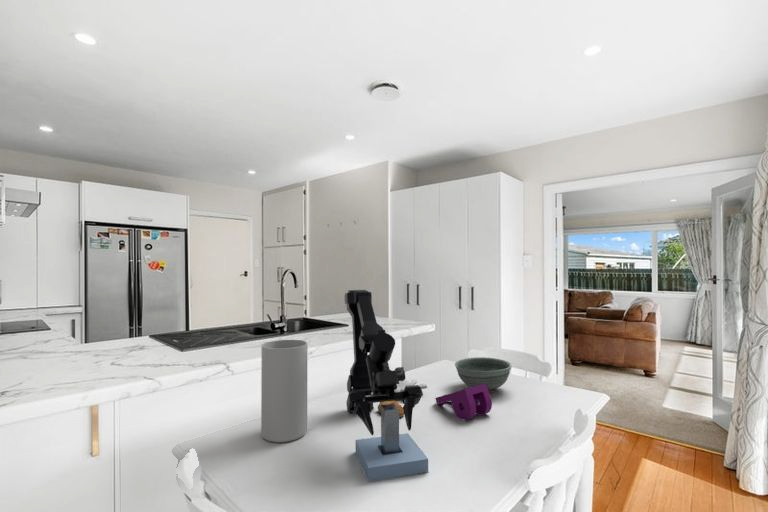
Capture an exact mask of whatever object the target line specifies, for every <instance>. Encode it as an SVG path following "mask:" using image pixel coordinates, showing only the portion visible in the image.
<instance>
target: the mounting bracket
mask: <svg viewBox="0 0 768 512" xmlns="http://www.w3.org/2000/svg"><path fill="white" fill-rule="evenodd" d="M435 401H436V405H440V404H444V403H447V402H450V403H451V406H452V409H453V412H454V414H455V416H456V417H457V418H459V419H461V420H463V421H466V420H470V419H473V418H474V417H476V414H477V415H479V416H482V415H486V414H489V412H491V410H492V407H493V401H492V398H491V395H490V393H489V391H488V388H487V385H486V384H482V385H478V386H475V387H468V388H464V389H460V390H457V391H454V392H451V393H448V394H444V395H440V396H438V397H435Z"/></svg>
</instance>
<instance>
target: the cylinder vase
mask: <svg viewBox="0 0 768 512" xmlns="http://www.w3.org/2000/svg"><path fill="white" fill-rule="evenodd" d="M260 367H261V383H260V384H261V387H260V388H261V392H260V393H261V395H260V396H261V398H260V399H261V400H260V401H261V402H260V404H261V405H260V406H261V414H260V417H261V418H260V423H261V424H260V425H261V426H260V427H261V429H260V432H261V433H260V434H261V436H262V438H263V439H264V440H265V441H267V442H270V443H271V442H272V443H278V444H280V443H288V442H293V441H296V440H298V439H300V438H302V437H304V436H305V435H306V433H307V432H308V342H307V341H305V340H302V339H279V340H278V339H277V340H272V341H271V340H270V341H267V342H264V343H262V344H261V366H260Z"/></svg>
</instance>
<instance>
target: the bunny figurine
mask: <svg viewBox="0 0 768 512" xmlns="http://www.w3.org/2000/svg"><path fill="white" fill-rule="evenodd" d="M417 383H418V381H417V380H416V379H413V380H411V381H410V380H409V381H408V380H407V379H405V380H404V381H399V384H397V389H396V390H394V391H395V392H403V391H404V389H405V386H413V385H418V386H420V387H421V389H422V390H425V389H427V388H428V386H427V383H420V384H417ZM396 402H399V401H398V400H396Z"/></svg>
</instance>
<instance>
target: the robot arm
mask: <svg viewBox="0 0 768 512" xmlns="http://www.w3.org/2000/svg"><path fill="white" fill-rule="evenodd" d="M372 297H373V296H372V292H371V291H369V290H366V289H351V290H348V291H347V292H346V293H344V304H345V305H346V310H347V312H348V313H349V315H350V316H351V325H352V326H351V327H352V341H353V359H354V361H353V363H352V365H351V367H350V370H349V375H348V378H347V381H346V390H347V393H348V394H347V395H348V396H347V399H346V410H347V413H349V414H353V415H357V416H358V418H359V419H360V420H361V421H362V423H363V424H364V426H365V427H366V429H367V431H368V432H369V433H370V435H371V436H374V435H375V433H374V432H375V431H374V425H373V422H372V421H373V420H372V418H371V413H370V412H372V411H373V410H374V409H375V407H374V404H375V403H380V402H386V401H396V400H400V401H402V404H403V406H402V407H403V411H404V419H405V424H406V427H407V430H408V431H411V430H412V421H413V420H412V419H413V410H414V408H415V407H416V405H418V404H419V403H420V400H421V398H422V397H423V395H424V393H423V389H421V387H420V386H418V385H419V384H415V385H413V386H405V389H404V391H403V392H395V391H394V390H396V389H397V385H398V384H399V382H401V381H404V380H406V372H405V369H404V366H400V367H399V366H398V367H396V368H395V369H394V370H392V369H390V365H389V361H390V360H391V358H392V355H393V352H394V349H395V347H396V339H395V338H394V337H393V336H392V335H391V334H390V333H387V332H386V330H385V329H384V328H383V326H381V325H380V324H379V323H378V322H377V319H376V314H375V311H374V307H373V304H372V302H373V299H372ZM396 402H397V401H396Z"/></svg>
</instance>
